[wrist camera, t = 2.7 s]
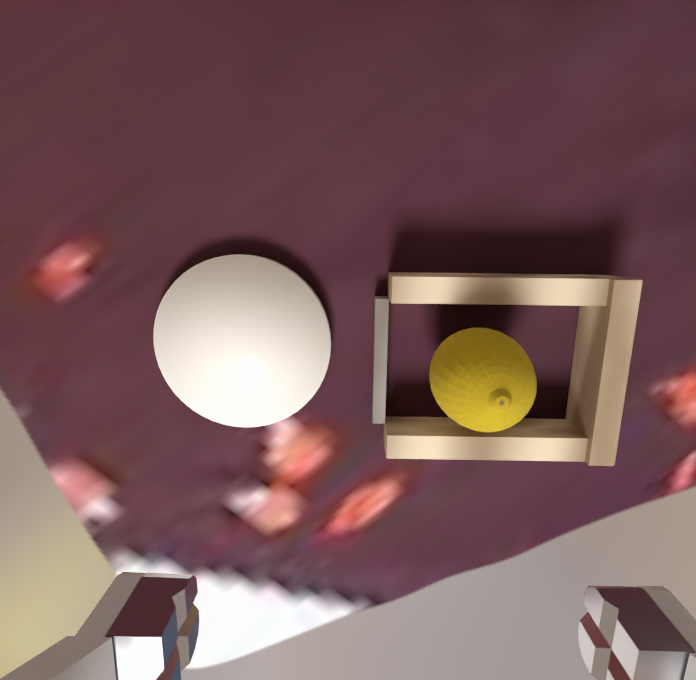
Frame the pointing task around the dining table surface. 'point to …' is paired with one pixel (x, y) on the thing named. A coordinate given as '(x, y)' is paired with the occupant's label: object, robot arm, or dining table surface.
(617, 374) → the wooden rectangular frame
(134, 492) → the dining table surface
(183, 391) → the saucer
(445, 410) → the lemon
